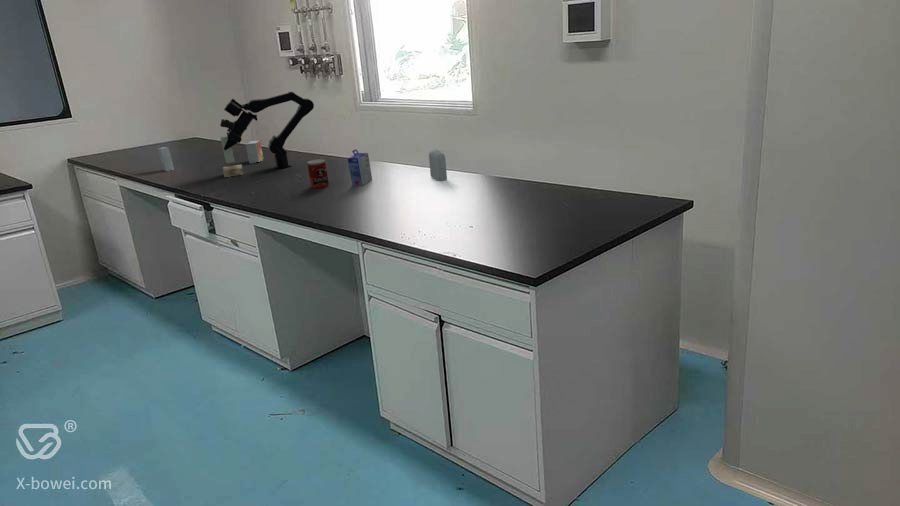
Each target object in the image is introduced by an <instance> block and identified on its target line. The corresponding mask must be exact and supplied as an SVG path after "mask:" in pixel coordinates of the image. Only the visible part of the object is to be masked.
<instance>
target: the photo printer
mask: <svg viewBox="0 0 900 506" xmlns="http://www.w3.org/2000/svg"><path fill="white" fill-rule="evenodd" d="M428 161H429V170H430V177H431V178H433V179H434V180H437V181H440V182H445V181H446V180H447V179H448V175H447V162H446V155H445V154H444V153H443V152H442V151H441V150H440V149H431V150H430V151H429V152H428Z"/></svg>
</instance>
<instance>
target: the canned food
mask: <svg viewBox="0 0 900 506" xmlns="http://www.w3.org/2000/svg"><path fill="white" fill-rule="evenodd" d="M307 171H308V176H309V181H310V187H311V188H312V187H314V188H313V189H323V188H326V186H327V187H328V186H329V176H328V169H327V163H326V159H322V158H319V159H318V158H317V159H311V160H309V161H307ZM322 187H323V188H322Z"/></svg>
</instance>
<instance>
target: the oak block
mask: <svg viewBox="0 0 900 506" xmlns="http://www.w3.org/2000/svg"><path fill="white" fill-rule="evenodd" d="M243 169H244V168H243V165H242V164H237V165H236V164H234V165H229V166H223V167H222V172H223V177H224V178H225V177H229V178H231V177H230V176H235V177H238V176H237V175H242V176H244V175H245V174H244V170H243ZM243 174H244V175H243Z"/></svg>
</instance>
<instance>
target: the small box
mask: <svg viewBox="0 0 900 506" xmlns="http://www.w3.org/2000/svg"><path fill="white" fill-rule="evenodd" d="M261 144H262V143H261V140H252V141H248V142H247V143H245V148H246V152H247V157H248V162H249V163H248V164H257V163H256V162H260V161H261V162H262V161H264V160H263V159H264V153H263V149H262V145H261ZM261 162H260V163H261Z"/></svg>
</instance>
